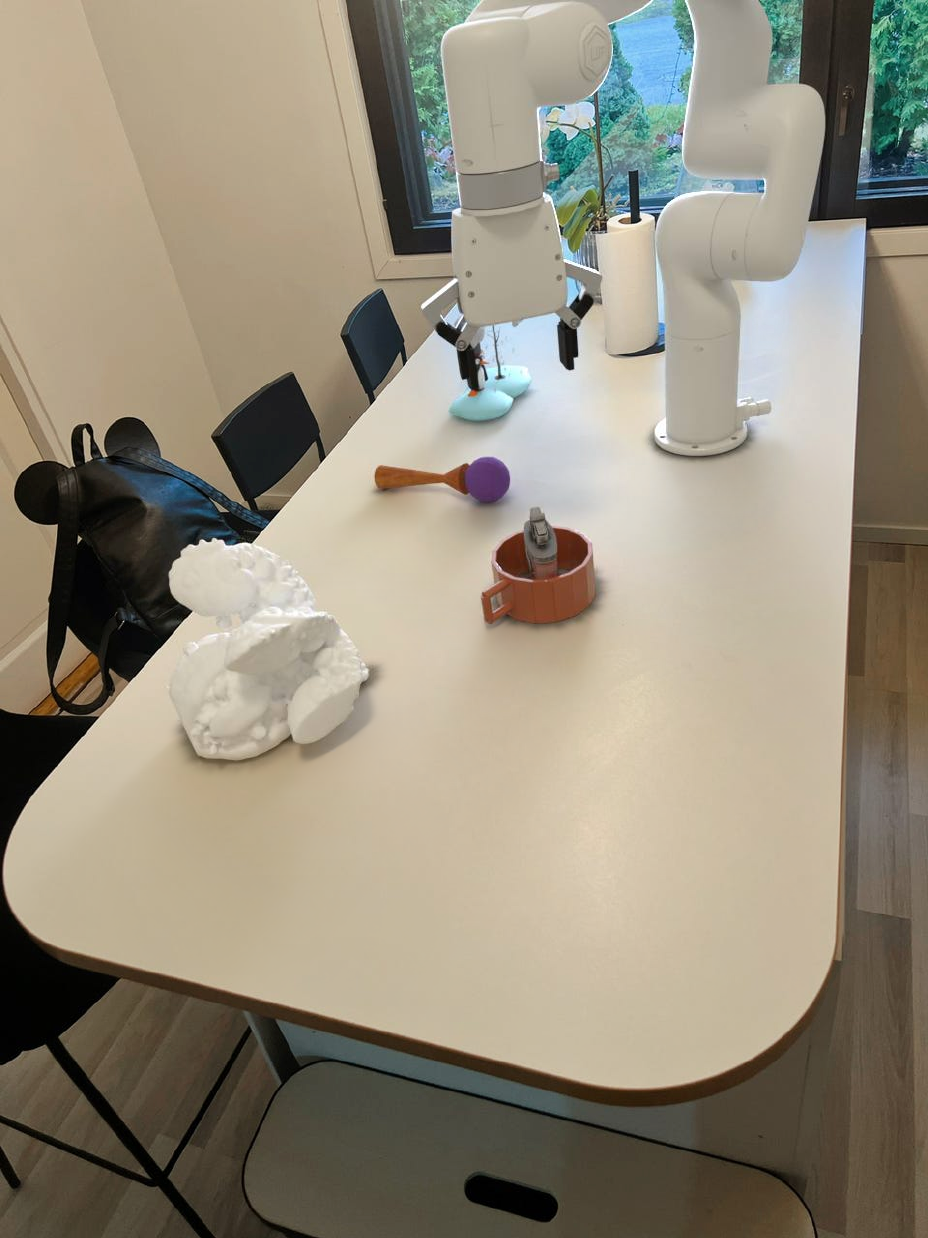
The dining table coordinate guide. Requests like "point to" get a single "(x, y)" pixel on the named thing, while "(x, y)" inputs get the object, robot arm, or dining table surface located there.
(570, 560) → the mug
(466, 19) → the robot arm
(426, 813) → the dining table surface
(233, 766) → the dining table surface
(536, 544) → the lighter
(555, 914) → the dining table surface
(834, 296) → the dining table surface
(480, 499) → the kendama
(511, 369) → the penguin figurine
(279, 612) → the cauliflower
